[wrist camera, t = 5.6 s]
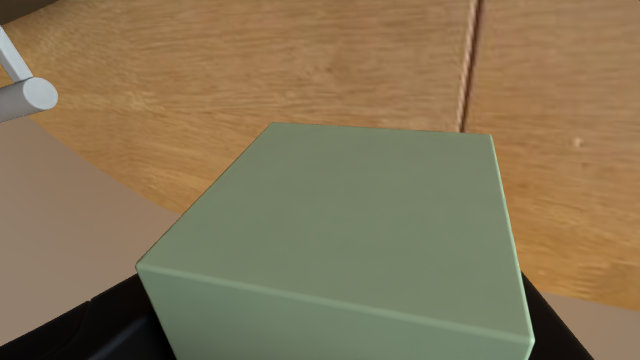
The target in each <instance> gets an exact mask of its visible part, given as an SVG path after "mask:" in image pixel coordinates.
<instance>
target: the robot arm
mask: <svg viewBox="0 0 640 360" xmlns="http://www.w3.org/2000/svg"><path fill="white" fill-rule="evenodd" d="M520 272H521V277H522V281H523V286H524V291H525V296H526V301H527V305H528V310H529V315H530V320H531V324H532V329H533V334H534V339H535V342H534V345H533V348H532V350H531V353H530V355H529V358H528V360H594V359H593V358H592V356H591V355H590V354H589V353H588V351H587V350H586V349H585V348H584V347H583V345H582V344H581V343H580V342H579V341H578V339H577V338H576V337H575V336H574V334H573V333H572V332H571V331H570V330H569V328H568V327H567V326H566V325H565V324H564V322H563V321H562V320H561V319H560V317H559V316H558V315H557V314H556V312H555V311H554V310H553V309H552V308H551V306H550V305H549V304H548V303H547V302H546V300H545V299H544V298H543V297H542V295H541V294H540V293H539V292H538V291H537V289H536V288H535V287H534V286H533V285H532V283H531V282H530V281H529V280H528V278H527V277H526V276H525V275H524V274H523V272H522V271H521V270H520ZM0 360H177V359H176V357H175V355H174V353H173V350H172V348H171V346H170V344H169V342H168V339H167V337H166V335H165V333H164V330H163V328H162V326H161V324H160V322H159V319H158V317H157V315H156V313H155V311H154V308H153V306H152V304H151V302H150V299H149V297H148V295H147V293H146V291H145V288H144V286H143V284H142V282H141V280H140V277H139V275H138V273H137V274H135V275H133V276H131V277H129V278H128V279H126V280H124V281H122V282H120V283H119V284H117V285H115V286H113V287H111V288H110V289H108V290H106V291H104V292H102V293H100V294H99V295H97V296H95V297H93V298H92V299H91V301H86V302H84V303H82V304H81V305H79V306H77V307H75V308H73V309H72V310H70V311H68V312H66V313H64V314H62V315H60V316H59V317H57V318H55V319H53V320H51V321H49V322H47V323H46V324H44V325H42V326H40V327H38V328H36V329H34V330H33V331H30V332H28V333H26V334H25V335H22V336H20V337H19V338H16V339H14V340H13V341H10V342H8V343H6V344H4V345H2V346H0Z"/></svg>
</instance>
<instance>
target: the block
mask: <svg viewBox="0 0 640 360" xmlns="http://www.w3.org/2000/svg"><path fill="white" fill-rule="evenodd" d="M135 269H136V271H137V273H138V275H139V277H140V280H141V282H142V284H143V286H144V288H145V291H146V293H147V295H148V297H149V299H150V302H151V304H152V306H153V308H154V311H155V313H156V315H157V317H158V319H159V322H160V324H161V326H162V328H163V330H164V333H165V335H166V337H167V339H168V342H169V344H170V346H171V348H172V350H173V353H174V355H175V357H176V359H177V360H528V358H529V355H530V353H531V350H532V348H533V345H534V342H535V339H534V334H533V329H532V324H531V320H530V315H529V310H528V305H527V301H526V296H525V291H524V286H523V281H522V277H521V272H520V267H519V262H518V258H517V253H516V248H515V243H514V239H513V234H512V229H511V224H510V220H509V215H508V210H507V205H506V200H505V196H504V191H503V186H502V181H501V177H500V172H499V167H498V162H497V158H496V153H495V148H494V143H493V139H492V136H491V135H489V134H473V133H456V132H438V131H421V130H403V129H386V128H368V127H351V126H333V125H316V124H298V123H281V122H272V123H271V124H270V125H269V126H268V127H267V128H266V129H265V130H264V131H263V132H262V133H261V134H260V135H259V136H258V137H257V138H256V139H255V140H254V141H253V142H252V143H251V144H250V145H249V146H248V148H247V149H246V150H245V151H244V152H243V153H242V154H241V155H240V156H239V157H238V158H237V159H236V160H235V161H234V162H233V163H232V164H231V165H230V166H229V167H228V168H227V169H226V170H225V171H224V172H223V173H222V174H221V175H220V177H219V178H218V179H217V180H216V181H215V182H214V183H213V184H212V185H211V186H210V187H209V188H208V189H207V190H206V191H205V192H204V193H203V194H202V195H201V196H200V197H199V198H198V199H197V200H196V201H195V202H194V203H193V205H192V206H191V207H190V208H189V209H188V210H187V211H186V212H185V213H184V214H183V215H182V216H181V217H180V218H179V219H178V220H177V221H176V222H175V223H174V224H173V225H172V226H171V227H170V228H169V229H168V231H166V233H165V234H164V235H163V236H162V237H161V238H160V239H159V240H158V241H157V242H156V243H155V244H154V245H153V246H152V247H151V248H150V249H149V250H148V251H147V252H146V253H145V254H144V255H143V256H142V257H141V258H140V259H139V260H138V262H137V263H136V265H135Z"/></svg>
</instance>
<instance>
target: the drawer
mask: <svg viewBox="0 0 640 360" xmlns="http://www.w3.org/2000/svg"><path fill="white" fill-rule="evenodd" d="M56 1H58V0H0V63H1V65H2V66H3V68H4V69H5V71H6V72H7V74H8V75H9V77H10V78H11V79H12V81H13V82H14V84H11V85H8V86H5V87H2V88H0V122H4V121H8V120H11V119H15V118H18V117H22V116H26V115H30V114H34V113H37V112H41V111H45V110H48V109H51V108H53V107H54V106H55V105H56V103H57V100H58V94H57V91H56V89H55V88H54V86H53V85H52V84H51V83H50V82H48V81H47V80H45V79H43V78H39V77H33V74H32V73H31V71H30V70H29V68H28V67H27V65H26V64H25V62H24V61H23V59H22V58H21V56H20V54H19V53H18V51H17V50H16V48H15V47H14V45H13V44H12V42H11V41H10V39H9V38H8V36H7V35H6V33H5V31H4V30H3V28H2V27H1V26H2V25H4V24H6V23H8V22H11V21H13V20H15V19H17V18H20V17H22V16H24V15H27V14H29V13H31V12H33V11H36V10H38V9H40V8H42V7H45V6H47V5H49V4H51V3H54V2H56Z"/></svg>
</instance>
